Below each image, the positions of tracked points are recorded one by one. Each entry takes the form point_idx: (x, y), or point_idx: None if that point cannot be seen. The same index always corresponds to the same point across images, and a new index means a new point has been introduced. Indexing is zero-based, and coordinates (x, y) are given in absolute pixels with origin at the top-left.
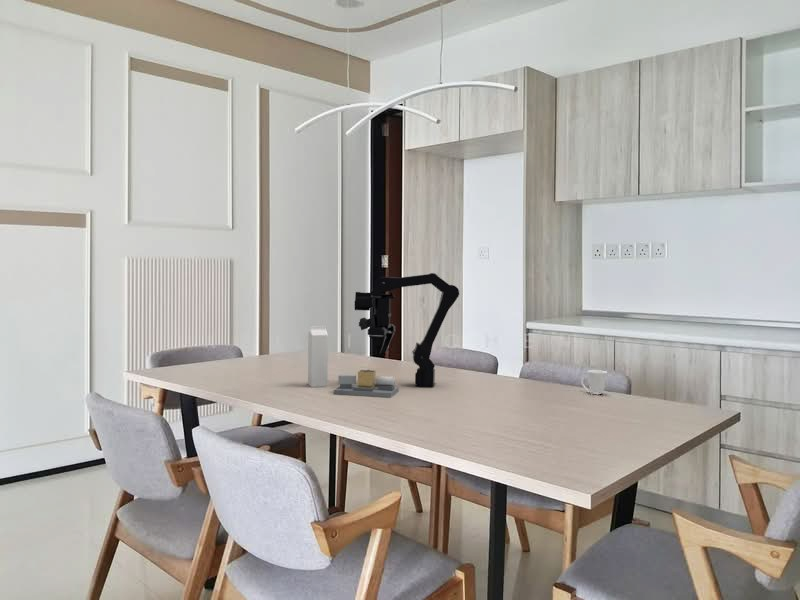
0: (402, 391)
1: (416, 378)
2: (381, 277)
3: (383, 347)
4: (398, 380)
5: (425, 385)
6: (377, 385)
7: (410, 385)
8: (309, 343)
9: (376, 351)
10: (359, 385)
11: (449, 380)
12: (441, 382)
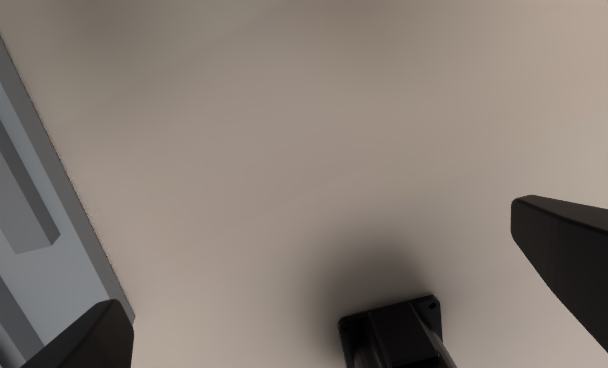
0: (151, 330)
1: (377, 342)
2: None
3: (558, 234)
4: (518, 137)
5: (350, 366)
6: (16, 241)
7: (364, 278)
8: None
9: (62, 334)
10: None
11: (592, 357)
12: (521, 354)
